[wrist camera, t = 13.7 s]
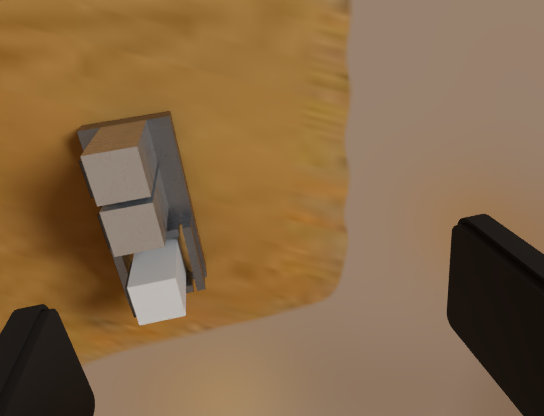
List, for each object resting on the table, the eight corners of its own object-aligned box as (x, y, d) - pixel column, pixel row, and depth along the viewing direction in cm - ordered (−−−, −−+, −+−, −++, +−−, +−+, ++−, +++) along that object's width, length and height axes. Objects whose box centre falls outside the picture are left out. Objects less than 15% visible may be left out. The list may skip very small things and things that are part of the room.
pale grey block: (132, 241, 43) (122, 288, 36) (177, 232, 44) (175, 278, 36) (143, 274, 45) (134, 326, 38) (186, 266, 45) (185, 315, 38)
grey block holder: (81, 125, 40) (51, 161, 31) (170, 111, 41) (165, 141, 32) (132, 281, 47) (119, 345, 38) (206, 266, 48) (210, 326, 39)
